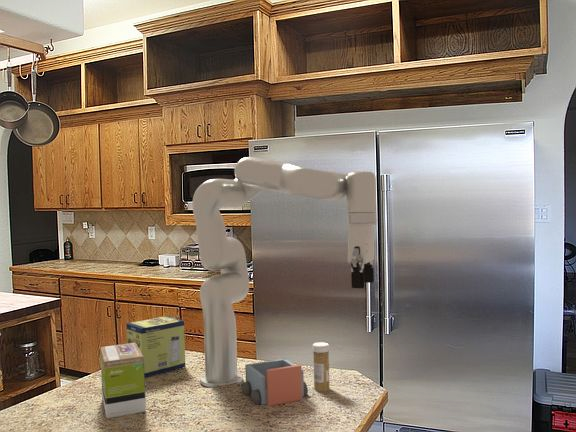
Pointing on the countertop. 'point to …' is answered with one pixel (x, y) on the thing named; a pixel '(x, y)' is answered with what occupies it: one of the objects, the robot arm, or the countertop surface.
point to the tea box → (122, 380)
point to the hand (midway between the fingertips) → (363, 285)
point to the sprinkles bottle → (321, 366)
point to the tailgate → (284, 385)
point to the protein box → (159, 343)
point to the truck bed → (263, 380)
